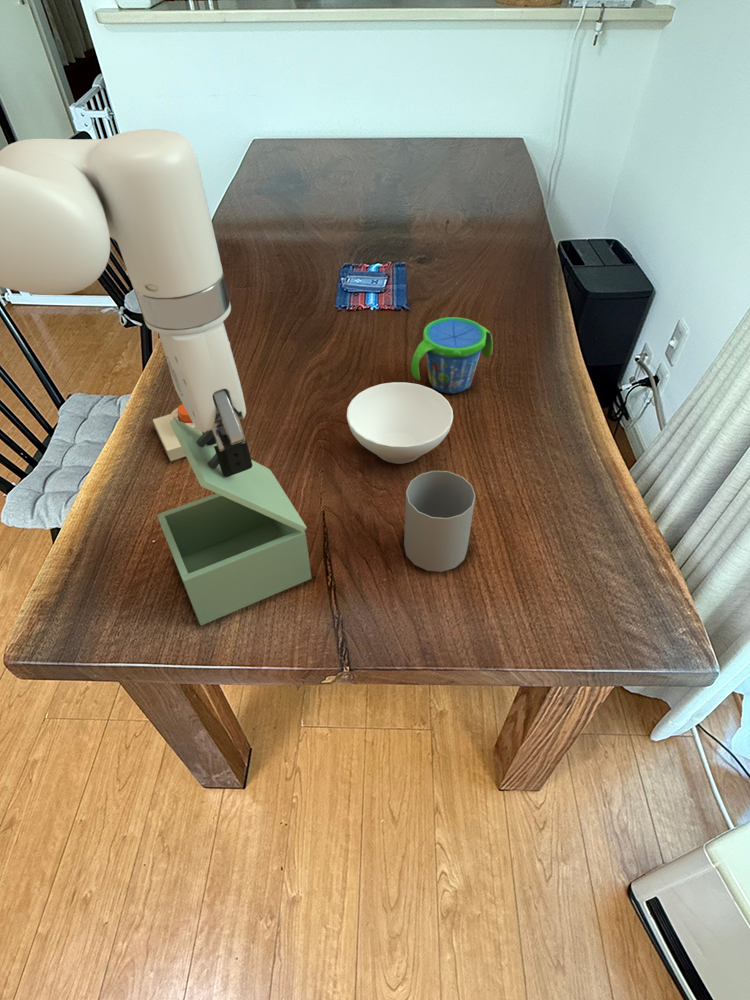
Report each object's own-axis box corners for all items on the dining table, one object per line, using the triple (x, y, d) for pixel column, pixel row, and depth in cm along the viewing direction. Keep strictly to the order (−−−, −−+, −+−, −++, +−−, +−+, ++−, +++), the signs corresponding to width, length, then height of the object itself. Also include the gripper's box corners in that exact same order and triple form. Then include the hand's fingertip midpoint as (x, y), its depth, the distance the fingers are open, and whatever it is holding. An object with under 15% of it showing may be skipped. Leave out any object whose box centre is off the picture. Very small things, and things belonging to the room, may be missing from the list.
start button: (183, 426, 93) (181, 417, 92) (177, 414, 95) (174, 405, 94) (206, 419, 94) (203, 410, 93) (199, 407, 96) (196, 398, 95)
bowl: (330, 465, 91) (327, 429, 86) (373, 408, 102) (373, 372, 97) (428, 495, 87) (431, 458, 82) (463, 431, 97) (467, 396, 92)
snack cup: (423, 410, 101) (426, 357, 94) (398, 377, 108) (399, 326, 101) (503, 389, 105) (512, 337, 98) (474, 359, 112) (480, 309, 105)
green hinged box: (200, 626, 71) (183, 581, 65) (174, 560, 79) (156, 514, 72) (311, 578, 76) (305, 532, 70) (277, 520, 83) (269, 474, 77)
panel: (170, 461, 92) (163, 441, 90) (155, 429, 98) (149, 410, 95) (238, 439, 96) (233, 419, 93) (220, 410, 102) (215, 390, 99)
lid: (200, 486, 58) (237, 444, 57) (168, 422, 65) (200, 384, 64) (302, 532, 70) (334, 498, 69) (266, 474, 77) (294, 442, 76)
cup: (466, 526, 82) (474, 473, 75) (467, 573, 77) (476, 520, 70) (405, 522, 83) (408, 469, 76) (402, 568, 77) (403, 515, 70)
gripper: (119, 271, 56) (173, 424, 69) (167, 357, 45) (220, 518, 58) (197, 252, 58) (235, 403, 71) (260, 329, 48) (291, 490, 61)
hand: (228, 454), depth 65 cm, fingers closed on lid, 5 cm apart
